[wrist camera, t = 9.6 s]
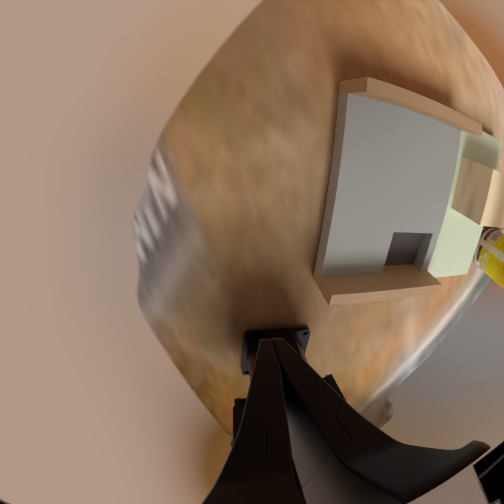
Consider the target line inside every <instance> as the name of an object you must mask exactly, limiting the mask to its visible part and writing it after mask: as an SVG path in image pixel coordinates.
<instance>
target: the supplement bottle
mask: <svg viewBox="0 0 504 504" xmlns="http://www.w3.org/2000/svg"><path fill="white" fill-rule="evenodd" d="M474 260H475V263H476V265H477V266H478V267H479V268H480V269H481V270H483V271H484V272H485V273H486V274H487V275H488V276H490V277H491V278H492V279H493V280H494V281H495V282H496V283H498V284H499V285H500V286H501V287H502V288H503V289H504V234H503V233H502V232H500V231H499V230H497V229H495V228H490V229H488V230H486V231H485V232H484V233H483V235H482V236H481V237H480V239H479V242H478V245H477V248H476V250H475V253H474Z"/></svg>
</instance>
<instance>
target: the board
mask: <svg viewBox="0 0 504 504" xmlns="http://www.w3.org/2000/svg"><path fill="white" fill-rule="evenodd" d="M500 150H501V141H499V140H498V139H496V138H494V137H492V136H491V135H489V134H487V133H485V132H484V131H482V124H480V123H478V122H477V121H475V120H473V119H471V118H469V117H467V116H465V115H463V114H462V113H460V112H458V111H456V110H453V109H451V108H449V107H447V106H445V105H443V104H441V103H438V102H436V101H434V100H432V99H429V98H427V97H425V96H422V95H420V94H417V93H415V92H412V91H409V90H407V89H404V88H401V87H398V86H396V85H393V84H390V83H387V82H383V81H380V80H377V79H374V78H370V77H362V78H355V79H349V80H344V81H339V94H338V107H337V118H336V128H335V138H334V147H333V155H332V163H331V171H330V179H329V186H328V193H327V200H326V206H325V213H324V219H323V225H322V231H321V237H320V242H319V248H318V253H317V259H316V264H315V269H314V274H313V278H314V280H315V281H316V283H317V285H318V287H319V289H320V290H321V292H322V294H323V296H324V298H325V299H326V301H327V303H328V305H329V306H333V305H344V304H354V303H364V302H373V301H382V300H390V299H398V298H406V297H414V296H421V295H427V294H434V293H438V291H439V289H440V287H441V283H440V282H439V281H438V280H437V279H436V278H435V277H445V276H454V275H463V274H467V271H468V269H469V266H470V264H471V261H472V259H473V256H474V253H475V250H476V248H477V245H478V242H479V239H480V236H481V233H482V230H483V226H480V225H478V224H477V223H475V222H473V221H472V220H470V219H469V218H467V217H465V216H464V215H462V214H460V213H459V212H457V211H455V210H454V209H452V208H451V205H452V201H453V197H454V193H455V188H456V184H457V179H458V174H459V168H460V163H461V157H464V158H467V159H469V160H472V161H475V162H477V163H480V164H483V165H485V166H488V167H490V168H492V169H495V170H497V169H498V163H499V157H500Z"/></svg>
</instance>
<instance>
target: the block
mask: <svg viewBox="0 0 504 504" xmlns="http://www.w3.org/2000/svg"><path fill="white" fill-rule="evenodd" d="M451 208H452V209H454V210H455V211H457V212H459V213H460V214H462V215H464V216H465V217H467V218H469V219H470V220H472V221H473V222H475V223H477V224H478V225H480V226H489V227H499V228H504V173H502V172H499V171H497V170H495V169H492V168H490V167H488V166H485V165H483V164H480V163H477V162H475V161H472V160H469V159H467V158H464V157H461V163H460V168H459V174H458V179H457V184H456V188H455V193H454V197H453V201H452V205H451Z"/></svg>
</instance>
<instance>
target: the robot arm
mask: <svg viewBox="0 0 504 504" xmlns="http://www.w3.org/2000/svg"><path fill="white" fill-rule="evenodd" d="M304 332H305V333H304ZM247 336H249V337H247ZM309 336H310V330H309V328H307V327H302V328H290V329H276V330H260V331H247V332H245V333H244V335H243V353H242V374H243V375H250V381H251V382H250V387H249V391H248V395H247V398H242V399H241V398H237V399H235V406H234V407H233V435H232V440H231V446H232V449H231V451H230V453H229V456H228V458H227V460H226V462H225V465H224V467H223V469H222V471H221V473H220V475H219V477H218V479H217V481H216V483H215V485H214V486H213V488H212V489H211V491H210V492H209V494H208V495H207V497H206V498H205V500H204V501H203V503H202V504H504V441H503V442H502V443H500V444H499V445H498V446H497V447H495V448H494V449H493V450H492V451H490V452H489V453H488V454H486V455H485V456H484V457H483V458H481V459H480V460H479V461H477V462H476V463H475V464H473V465H472V463H473V462H474V461H475V460H477V459H478V458H479V457H480V456H482V455H483V454H484V453H485V452H487V451H488V450H489V449H490V448H491V447H490V446H489V445H488V444H486V443H484V442H481V441H476V440H473V441H471V442H470V443H468V444H467V445H466V446H464V447H462V448H460V449H456V450H444V449H435V448H426V447H420V446H414V445H408V444H404V443H401V442H399V441H396V440H395V439H393V438H391V437H390V436H389V435H387V434H385V433H384V432H383V431H382V430H380V429H379V428H378V427H376V426H375V425H373V424H372V423H371V422H369V421H368V420H367V419H365V418H364V417H363V416H362V415H360V414H359V413H358V412H357V411H356V410H355V409H353V408H352V407H351V406H350V405H349V404H348V403H347V402H346V400H345V398H344V396H343V394H342V392H341V391H340V389H339V387H338V385H337V383H336V382H335V380H334V378H333V376H332V374H330V375H327V376H325V377H323V378H322V377H321V376H320V375H319V374H318V373H317V372H316V371H315V370H314V369H313V368H312V367H311V366H310V365H309V364H308V362H307V359H306V357H305V350H306V347H307V343H308V340H309ZM0 504H9V503H7V502H5V501H3V500H1V499H0Z"/></svg>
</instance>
